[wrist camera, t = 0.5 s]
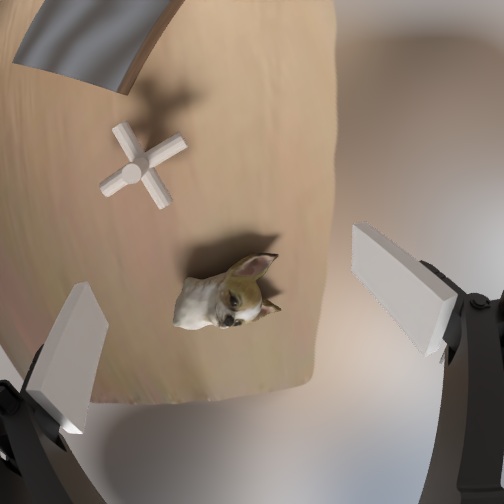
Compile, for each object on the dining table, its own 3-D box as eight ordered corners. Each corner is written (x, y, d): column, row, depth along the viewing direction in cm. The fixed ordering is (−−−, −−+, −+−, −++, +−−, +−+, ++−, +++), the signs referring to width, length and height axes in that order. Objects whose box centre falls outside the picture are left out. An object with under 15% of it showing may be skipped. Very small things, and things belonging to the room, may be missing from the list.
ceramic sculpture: (161, 298, 30) (294, 272, 32) (163, 261, 37) (272, 241, 40) (183, 362, 35) (294, 338, 37) (180, 321, 42) (275, 302, 45)
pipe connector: (97, 147, 29) (62, 159, 21) (166, 102, 29) (153, 94, 20) (137, 212, 34) (118, 246, 25) (206, 172, 33) (208, 192, 25)
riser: (31, 66, 22) (12, 62, 18) (83, -22, 17) (70, -36, 13) (127, 95, 27) (115, 92, 23) (184, 0, 23) (182, -16, 19)
